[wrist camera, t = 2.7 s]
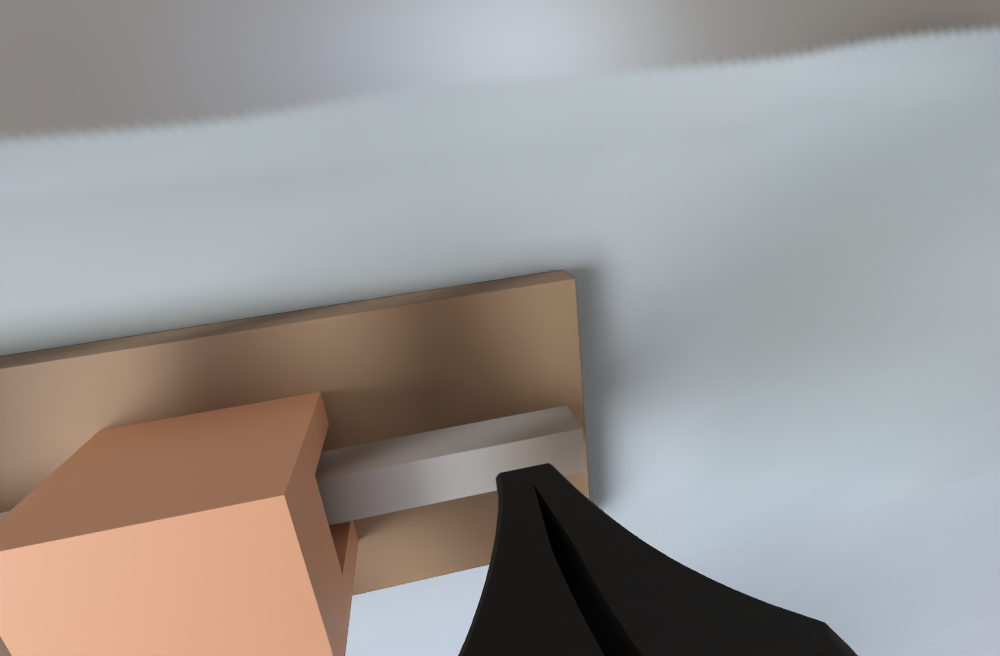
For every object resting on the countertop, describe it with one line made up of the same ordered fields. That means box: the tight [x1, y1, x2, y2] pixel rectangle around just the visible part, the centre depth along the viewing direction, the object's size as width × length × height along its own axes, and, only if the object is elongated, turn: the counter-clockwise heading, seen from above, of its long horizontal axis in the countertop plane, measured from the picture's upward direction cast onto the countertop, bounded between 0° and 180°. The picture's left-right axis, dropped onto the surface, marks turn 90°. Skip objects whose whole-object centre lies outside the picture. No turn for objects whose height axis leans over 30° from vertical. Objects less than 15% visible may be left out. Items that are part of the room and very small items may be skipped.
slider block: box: [0, 392, 359, 656], centre depth 12 cm, size 6×5×4 cm
